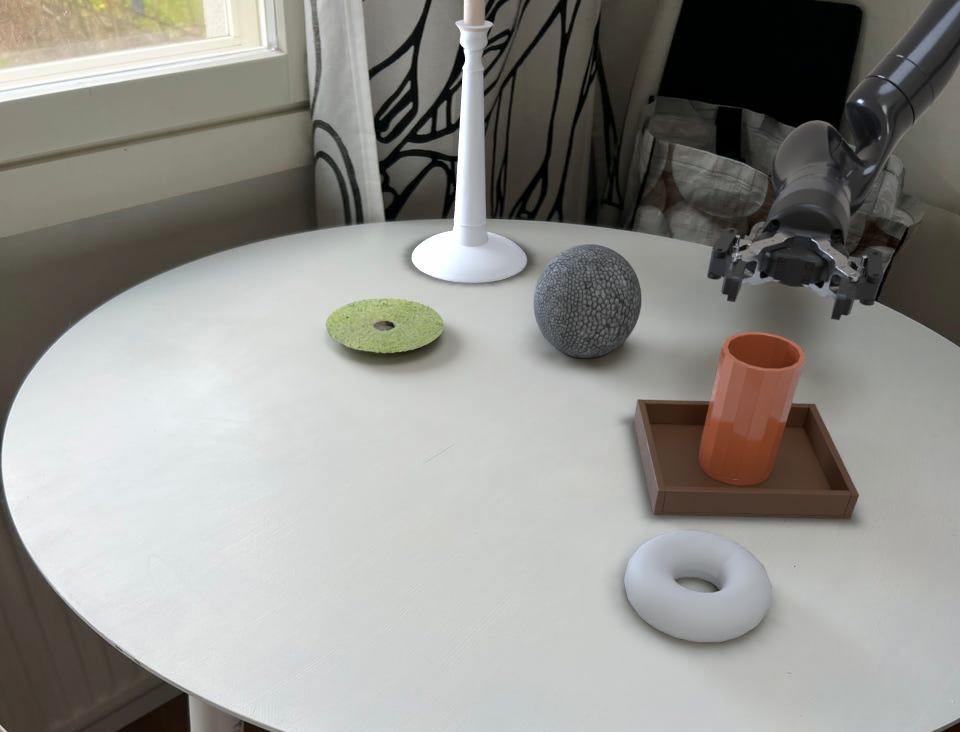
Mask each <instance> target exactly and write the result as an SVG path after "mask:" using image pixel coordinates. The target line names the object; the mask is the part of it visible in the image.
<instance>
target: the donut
mask: <svg viewBox="0 0 960 732" xmlns="http://www.w3.org/2000/svg"><path fill="white" fill-rule="evenodd" d="M765 567H766V566H764V564H763V563H762V562H761V561H760V560H759V559H758V557H756V556H755V554H754V552H753V553H752V551H751V550H749V549H747V548H746V547H744V546H743V545H741V544H740V543H738V542H736V540H733V539H730V538H727V537H725V536H722V535H720V534H716V533H711V532H706V531H701V530H678V531H672V532H668V533H665V534H660V535H658V536H656V537H653V538H651V539H650V540H647V541H646V542H644V543H643V544H641V546H639V548H638V549H637V550H636V551H635V553H634V554H633V555H632V556H631V557H630V558H629V561H628V563H627V566H626V570H625V574H624V578H623V580H624V588H625V591H626V592H625V593H626V597H627V599H628V602H629V603H630V605H631V607H632V608H633V609H634V611H635V613H636V614H637V615H638V616H639V618H641V619H642V620H643V621H645V622H646V623H647V624H648V625H649V626H651V627H653V628H654V629H655V630H657V631H659V632H662V633H664V634H666V635H668V636H671V637H673V638H674V639H679V640H682V641H689V642H694V643H723V642H726V641H730V640H734V639H737V638H741V637H742V636H743V635H745V634H747V633H749V632H750V631H751V630H753V629H755V628H756V627H758V626H759V625H760V624H761V621H762V620H763V619H764V617H765V616H766V614H767V613H768V610H769V609H770V607H771V598H772V588H773V586H772V583H771V580H770V578H769V575H768V573H767V570H766V568H765ZM683 578H695V579H700V580H703V581H706V582H708V583H710V584H712V585H713V586H715V587H717V589H718V591H714V592H700V591H696V590H691V589H689V588H687V587H685V586H682V585H680V584H679V583H678V582H677V580H679V579H683Z"/></svg>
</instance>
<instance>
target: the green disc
mask: <svg viewBox="0 0 960 732" xmlns="http://www.w3.org/2000/svg"><path fill="white" fill-rule="evenodd" d="M325 329H326V332H327V333H328V335H329V336H330V337H331V338H332V339H333V340H334V341H336V342H337V343H339V344H341V345H343V346H344V347H346V348H351V349H352V350H356V351H363V352H372V353H376V354H380V353H382V354H387V353H388V354H395V353H401V352H407V351H413V350H417V349H418V348H422V347H423V346H427V345H429V344H430V343H432V342H433V341H435V340H436V339H438V337H440V336H441V335H442V333H443V331H444V319H443V318H442V316H441V315H440V313H438V311H436V310H434V309H433V308H431V307H430V306H429V305H424V304H423V303H420V302H417V301H413V300H407V299H400V298H391V297H390V298H370V299H369V298H368V299H362V300H357V301H353V302H350V303H348V304H345V305H343V306H341V307H339V308H337V309H335V310H334V311H333V312H332V313H331V314H330V315H329V316H328V318H327V319H326V322H325Z"/></svg>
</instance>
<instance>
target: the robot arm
mask: <svg viewBox="0 0 960 732" xmlns="http://www.w3.org/2000/svg"><path fill="white" fill-rule="evenodd" d="M959 68H960V0H929V1H928V3H927V4H926V5H925V7H924V9H923V10H922V11H921V13H920V14H919V15H918V17H917V18H916V19H915V20H914V22H912V24H911V25H910V26H909V28H908V29H907V30H906V31H905V33H904V34H903V35H902V36H901V37H900V38H899V40H898V41H897V42H896V43H895V45H893V47H892V48H891V49H890V50H889V51H888V52H887V53H886V54H885V55H884V56H883V57H882V59H881V60H880V61H879V62H878V63H877V64H876V65H875V66H874V68H872V70H871V71H869V73H868V74H867V75H866V76H865V77H864V78H863V79H862V80H861V82H859V84H858V85H857V86H856V87H855V88H854V89H853V90H852V92H851V93H850V95H849V96H848V97H847V99H846V102H845V105H844V116H845V120H846V123H847V125H848V128H849V130H850V132H851V135H852V137H853V141H854V145H855V146H854V147H855V149H854V150H853V148H852V147H851V146H850V145H849V143H848V142H847V141H846V140H845V139H844V138H843V136H842V134H840V132H838V130H837V129H836V128H835V127H834V126H833V125H832V124H831V123H829V122H826V121H823V120H817V119H816V120H810V121H807V122H805V123H802V124H800V125H799V126H797V127H795V128H794V129H793V130H792V131H791V132H790V133H789V134H788V135H787V136H786V137H785V138H784V140H783V141H782V142H781V144H780V145H779V147H778V149H777V150H776V153H775V155H774V157H773V160H772V164H771V169H770V170H771V171H770V177H771V178H770V179H771V183H772V189H773V191H774V196H775V200H774V202H773V203H772V205H771V207H770V209H769V211H768V215H767V218H766V220H765V221H764V224H763V227H762V231H761V233H760V234H759V235H757V236H755V237H754V238H753V239H752V240H749V239H743V238H741V235H740V234H739V230H738V229H737V228H734V227H726V228H724V230H723V231H722V233H721V234H720V236H719V238H718V239H717V241H716V242H715V243H714V245H713V247H712V249H711V254H710V258H709V265H708V268H707V274H706V278H708V279H710V280H714V281H715V280H716V281H717V280H720V279H721V278H723V279H722V280H723V281H722V286H721V290H720V291H721V294H722V295H725V296H727V299H726V301H727V302H730V303H731V302H732V303H736V301H737V299H738V296H739V294H740V290H741V288H742V285H745V284H750V285H751V286H752V287H755V286H760V285H763V284H766V283H770V282H774V283H779V284H781V285H783V286H786V287H793V288H804V287H805V288H810V289H811V290H813V291H814V292H815V293H816V294H817V295H819V296H820V297H822V299H823V298H824V299H825V298H831V299H832V300H834V302H833V306H832V311H831V316H830V319H831V320H834V321H840V320H841V317H842V316H847V317H848V316H849V315H851V312H852V309H853V306H854V303H855V301H858V300H859V303H860V304H861V305H863V306H867V307H871V306H873V305H875V302H876V299H877V298H876V297H877V294H878V291H879V288H880V285H881V283H882V282H883V278H884V263H883V253H882V251H879V250H876V249H870V250H868V251H867V253H866V254H863V255H862V256H861V257H859V256H858V257H857V256H850V253H849V251H848V250H847V249H846V243H847V240H848V234H849V228H850V222H851V217H853V216H854V215H855V214H856V213H857V211H859V209H860V208H861V207H862V205H863V204H864V203H865V201H866V200H867V198H868V196H869V195H870V193H871V192H872V191H873V188H874V186H875V184H876V182H877V181H878V178H879V176H880V174H881V172H882V170H883V169H884V167H885V165H886V164H887V161H888V160H889V159H890V157H891V155H892V153H893V152H894V150H895V148H896V147H897V146H898V144H899V142H901V139H902V138H903V137H904V136H905V135H906V133H908V132H909V131H910V129H911V128H912V127H913V126H914V125H915V124H916V123H917V122H918V120H920V118H921V117H922V116H923V115H924V114H925V113H926V112H927V111H928V110H929V109H930V108H931V107H932V106H933V104H934V103H936V102H937V100H938V99H939V98H940V97H941V95H942V94H943V93H944V91H945V90H946V89H947V87H948V86H949V85H950V83H951V81H952V80H953V78H954V77H955V75H956V73H957V71H958V70H959Z"/></svg>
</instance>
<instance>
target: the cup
mask: <svg viewBox="0 0 960 732" xmlns="http://www.w3.org/2000/svg"><path fill="white" fill-rule="evenodd" d="M806 357H807V355H806V354H805V352H804V350H803V348H802V347H801V346H800V345H798V344H797V343H796V342H795V341H793V340H791V339H788V338H786V337H784V336H781V335H778V334H773V333H769V332H763V331H745V332H739V333H735V334H733V335H731V336H728V337H727V338H725V340H724V341H723V343H722V346H721V350H720V354H719V359H718V364H717V368H716V373H715V378H714V382H713V385H712V391H711V395H710V399H709V401H710V403H709V408H708V412H707V417H706V421H705V426H704V430H703V435H702V439H701V444H700V448H699V455H698V464H699V466H700V468H701V469H702V470H703V471H704V472H705V473H706V474H707V475H708V476H710V477H712V478H713V479H716V480H718V481H720V482H723V483H727V484H731V485H740V486H747V485H755V484H758V483H761V482H763V481H765V480H766V479H768V478H769V477H770V475H771V473H772V470H773V467H774V464H775V461H776V457H777V454H778V450H779V447H780V443H781V440H782V437H783V433H784V430H785V426H786V423H787V419H788V416H789V413H790V409H791V406H792V403H793V402H794V399H795V395H796V392H797V388H798V385H799V381H800V378H801V375H802V371H803V368H804V365H805V361H806Z"/></svg>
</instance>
